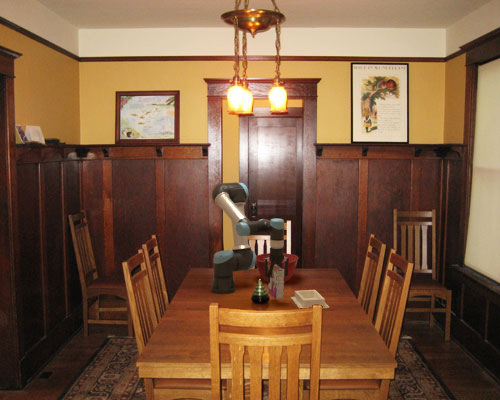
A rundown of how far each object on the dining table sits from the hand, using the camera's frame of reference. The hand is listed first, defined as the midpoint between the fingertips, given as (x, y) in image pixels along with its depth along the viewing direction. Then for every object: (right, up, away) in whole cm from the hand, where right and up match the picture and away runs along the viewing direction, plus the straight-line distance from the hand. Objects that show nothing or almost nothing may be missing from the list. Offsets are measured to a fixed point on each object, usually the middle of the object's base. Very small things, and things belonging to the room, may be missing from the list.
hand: (275, 288), depth 257 cm
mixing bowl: (+3, -4, +44) cm, 45 cm away
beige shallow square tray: (+18, -8, +1) cm, 20 cm away
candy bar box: (0, -5, +1) cm, 5 cm away
